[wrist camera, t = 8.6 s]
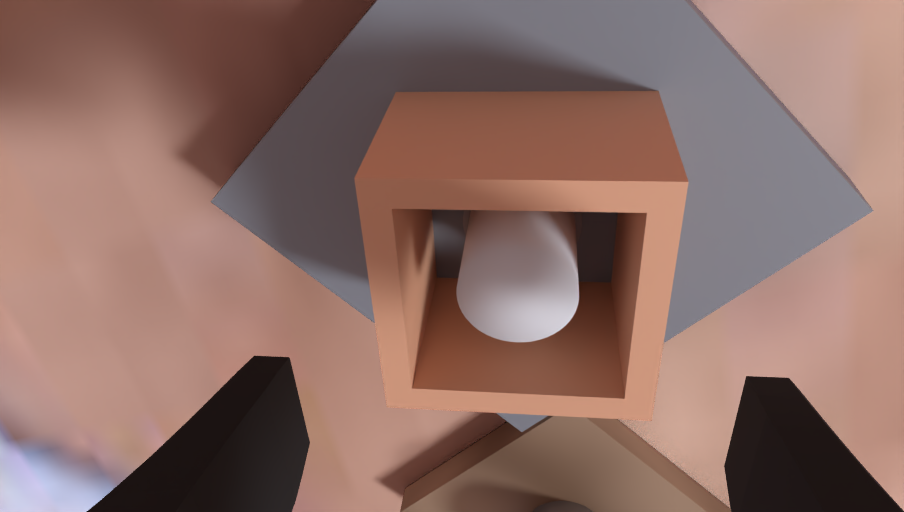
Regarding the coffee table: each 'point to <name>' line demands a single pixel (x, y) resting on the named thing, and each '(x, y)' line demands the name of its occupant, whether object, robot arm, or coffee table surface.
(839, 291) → the coffee table surface
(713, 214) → the square peg base
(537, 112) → the collar
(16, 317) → the coffee table surface
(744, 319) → the coffee table surface
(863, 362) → the coffee table surface
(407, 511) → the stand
